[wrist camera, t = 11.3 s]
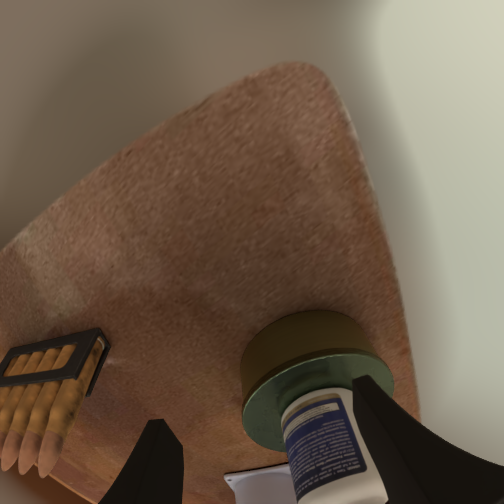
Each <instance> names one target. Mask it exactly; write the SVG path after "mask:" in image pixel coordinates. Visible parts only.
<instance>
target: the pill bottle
mask: <svg viewBox="0 0 504 504" xmlns="http://www.w3.org/2000/svg"><path fill="white" fill-rule="evenodd" d="M281 426H282V433H283V437H284V442H285V447H286V451H287V457H288V461H289V466H290V471H291V476H292V481H293V486H294V491H295V496H296V500H297V504H385V503H386V502H387V501H388V497H387V494H386V490H385V487H384V484H383V482H382V479H381V477H380V475H379V473H378V470H377V468H376V466H375V464H374V462H373V460H372V458H371V456H370V453H369V451H368V449H367V447H366V445H365V443H364V441H363V438H362V436H361V434H360V431H359V429H358V426H357V423H356V420H355V416H354V413H353V396H352V391H350V390H348V389H344V388H326V389H320V390H316V391H313V392H310V393H308V394H306V395H303V396H301V397H300V398H298V399H297V400H295V401H294V402H293V403H292V404H291V405H290V406H289V407H288V408H287V409H286V410H285V412H284V414H283V416H282V420H281Z"/></svg>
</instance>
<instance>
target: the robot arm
mask: <svg viewBox="0 0 504 504" xmlns="http://www.w3.org/2000/svg"><path fill="white" fill-rule="evenodd" d="M352 396H353V413H354V416H355V420H356V423H357V426H358V429H359V431H360V434H361V436H362V438H363V441H364V443H365V445H366V447H367V449H368V451H369V453H370V456H371V458H372V460H373V462H374V464H375V466H376V468H377V470H378V473H379V475H380V477H381V479H382V482H383V484H384V487H385V490H386V494H387V497H388V500H389V503H390V504H504V466H501V465H498V464H495V463H492V462H489V461H486V460H484V459H481V458H479V457H476V456H474V455H472V454H470V453H468V452H466V451H464V450H462V449H460V448H458V447H456V446H454V445H452V444H451V443H449V442H447V441H445V440H444V439H442V438H441V437H439V436H438V435H436V434H434V433H433V432H432V431H430V430H429V429H427V428H426V427H425V426H423V425H422V424H421V423H419V422H418V421H417V420H416V419H414V418H413V417H412V416H411V415H409V414H408V413H407V412H406V411H405V410H404V409H403V408H402V407H400V406H399V405H398V404H397V403H396V402H395V401H394V400H393V399H392V398H391V397H390V396H389V395H388V394H387V393H386V392H385V391H384V390H383V389H382V388H381V387H380V386H379V385H378V384H377V383H376V382H375V381H374V379H373V378H372V377H371V376H370V375H368V374H367V375H364V376H361V377H358V378H355V379H352ZM183 477H184V458H183V446H182V444H181V443H180V442H179V440H178V439H177V438H176V436H175V435H174V433H173V432H172V431H171V429H170V428H169V426H168V425H167V424H166V422H165V421H164V419H155V420H149V421H148V422H147V424H146V426H145V428H144V430H143V432H142V434H141V436H140V438H139V440H138V442H137V443H136V445H135V447H134V449H133V451H132V453H131V455H130V456H129V458H128V460H127V462H126V463H125V465H124V467H123V469H122V470H121V472H120V473H119V475H118V477H117V478H116V480H115V481H114V483H113V484H112V486H111V487H110V489H109V490H108V491H107V493H106V494H105V495H104V497H103V498H102V499H101V501H100V502H99V503H98V504H182V493H183ZM224 479H225V481H226V482H227V483H228V485H229V486H230V487H231V489H232V490H233V491H234V492H235V499H236V504H297V500H296V496H295V491H294V486H293V481H292V476H291V471H290V466H289V464H284V465H280V466H275V467H269V468H264V469H258V470H252V471H246V472H239V473H232V474H226V475H224Z"/></svg>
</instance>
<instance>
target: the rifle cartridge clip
mask: <svg viewBox="0 0 504 504" xmlns="http://www.w3.org/2000/svg"><path fill="white" fill-rule="evenodd" d="M110 348H111V347H110V345H109V343H108V342H107V340H106V339H105V337H104V335H103V334H102V332H101V330H100V329H99V328H96V329H92V330H88V331H84V332H80V333H75V334H71V335H67V336H63V337H59V338H55V339H51V340H46V341H42V342H38V343H34V344H29V345H25V346H21V347H16V348H12V349H10V350H9V351H8V353H7V354H6V356H5V357H4V359H3V360H2V362H1V363H0V458H1V467H2V471H7V470H8V469H9V468H10V467H11V466H12V465H13V464H14V462H15V461H16V459H17V458H18V456H19V463H18V464H19V473H20V474H21V475H23V474H25V473H26V472H27V471H28V470H29V469H30V467H31V466H32V465H33V463H34V462H35V460H36V458H37V457H38V455H39V463H38V469H39V475H40V477H42V478H44V477H45V476H47V475H48V474H49V473H50V471H51V470H52V468H53V467H54V465H55V464H56V462H57V460H58V458H59V455H60V453H61V451H62V448H63V445H64V443H65V441H66V439H67V436H68V434H69V432H70V430H71V429H72V427H73V426H74V424H75V421H76V419H77V416H78V413H79V410H80V408H81V405H82V402H83V400H84V397H90V395H91V392H92V390H93V388H94V385H95V383H96V380H97V378H98V375H99V373H100V371H101V368H102V366H103V364H104V361H105V359H106V357H107V354H108V352H109V350H110ZM1 456H2V457H1Z"/></svg>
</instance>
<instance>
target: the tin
mask: <svg viewBox="0 0 504 504" xmlns="http://www.w3.org/2000/svg"><path fill="white" fill-rule="evenodd" d="M240 369H241V381H242V392H243V405H242V411H241V413H242V424H243V427H244V430H245V431H246V433H247V435H248V436H249V437H250V438H251V439H252V440H253V441H254V442H256V443H257V444H259V445H261V446H263V447H265V448H268V449H271V450H275V451H279V452H287V451H286V447H285V442H284V437H283V433H282V426H281V420H282V416H283V414H284V412H285V410H286V409H287V408H288V407H289V406H290V405H291V404H292V403H293V402H294V401H295V400H297V399H298V398H300V397H301V396H303V395H306V394H308V393H310V392H313V391H316V390H320V389H326V388H344V389H348V390H350V391H352V379H355V378H358V377H361V376H364V375H367V374H368V375H370V376H371V377H372V378H373V379H374V381H375V382H376V383H377V384H378V385H379V386H380V387H381V388H382V389H383V390H384V391H385V392H386V393H387V394H388V395H389V396H390V397H391V398H392V396H393V392H394V379H393V375H392V373H391V371H390V369H389V367H388V366H387V364H386V363H385V362H384V361H383V360H382V359H381V358H380V357H379V356H378V355H377V353H376V351H375V350H374V348H373V346H372V345H371V343H370V341H369V339H368V338H367V336H366V334H365V333H364V331H363V330H362V328H361V327H360V326H359V324H357V323H356V322H355V321H354V320H352V319H351V318H349V317H347V316H345V315H343V314H340V313H337V312H333V311H325V310H314V311H305V312H300V313H296V314H293V315H289V316H287V317H284V318H282V319H280V320H278V321H276V322H274V323H272V324H270V325H269V326H267V327H266V328H265V329H263V330H262V331H261V332H260V333H259V334H257V335H256V336H255V338H254V339H253V340H252V341H251V342H250V344H249V345H248V347H247V348H246V350H245V352H244V354H243V357H242V360H241V367H240Z"/></svg>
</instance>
